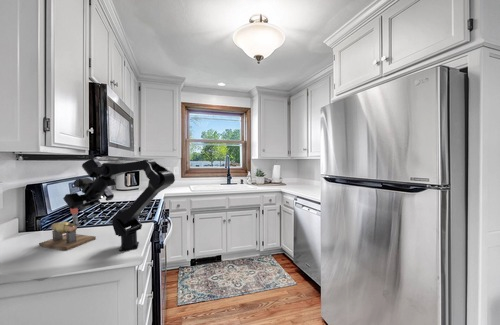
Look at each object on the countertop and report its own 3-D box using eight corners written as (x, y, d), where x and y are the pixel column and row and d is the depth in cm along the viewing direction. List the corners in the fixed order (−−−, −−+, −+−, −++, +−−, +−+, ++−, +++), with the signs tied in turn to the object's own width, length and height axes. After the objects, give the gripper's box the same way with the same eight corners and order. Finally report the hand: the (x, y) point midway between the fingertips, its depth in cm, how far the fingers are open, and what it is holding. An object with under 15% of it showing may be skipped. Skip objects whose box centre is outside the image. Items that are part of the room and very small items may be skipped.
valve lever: (79, 225, 101) (76, 201, 101) (76, 226, 100) (72, 201, 100) (76, 225, 102) (73, 201, 102) (72, 227, 101) (69, 202, 100)
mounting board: (95, 239, 101) (95, 236, 101) (67, 250, 90) (67, 247, 90) (69, 235, 106) (69, 233, 106) (39, 246, 95) (39, 243, 94)
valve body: (83, 238, 99) (82, 220, 98) (67, 244, 93) (66, 224, 92) (65, 236, 102) (64, 218, 101) (48, 242, 96) (47, 222, 95)
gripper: (107, 170, 106) (91, 192, 110) (65, 174, 88) (47, 200, 92) (122, 187, 104) (104, 209, 108) (81, 195, 86) (62, 221, 90)
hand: (81, 209), depth 100 cm, fingers closed
